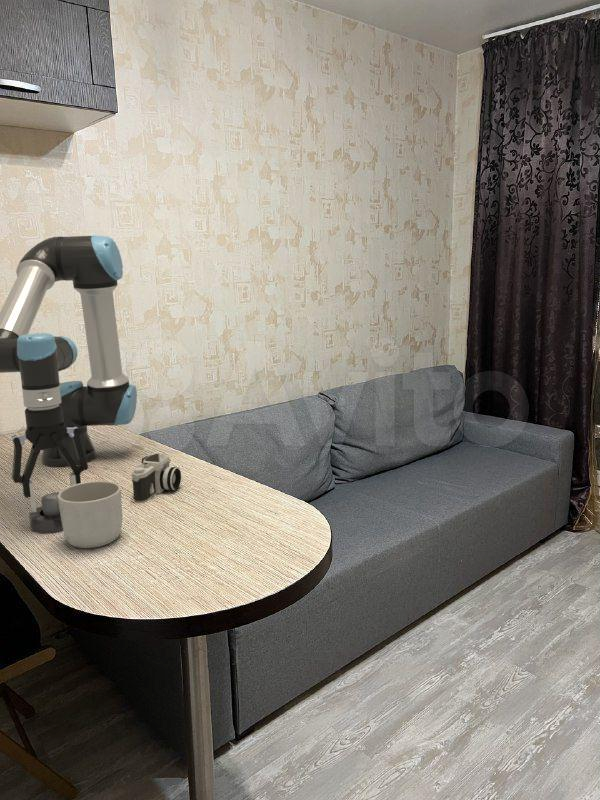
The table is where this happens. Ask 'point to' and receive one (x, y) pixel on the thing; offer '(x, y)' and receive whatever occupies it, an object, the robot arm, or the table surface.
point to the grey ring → (45, 522)
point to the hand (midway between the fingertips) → (54, 505)
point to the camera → (154, 477)
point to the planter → (91, 513)
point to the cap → (50, 505)
